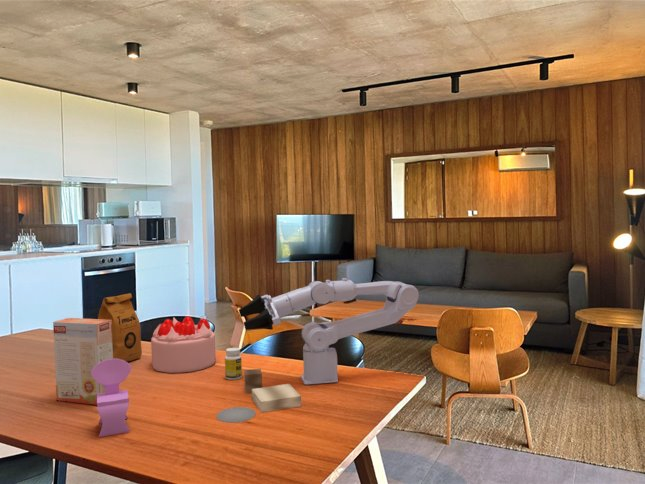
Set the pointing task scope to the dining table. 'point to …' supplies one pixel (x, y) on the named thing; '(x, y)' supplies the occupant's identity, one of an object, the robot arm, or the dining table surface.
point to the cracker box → (80, 357)
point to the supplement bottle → (233, 364)
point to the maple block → (276, 397)
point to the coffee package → (122, 327)
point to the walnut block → (252, 379)
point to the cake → (183, 346)
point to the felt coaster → (235, 414)
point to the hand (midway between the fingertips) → (242, 319)
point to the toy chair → (112, 396)
